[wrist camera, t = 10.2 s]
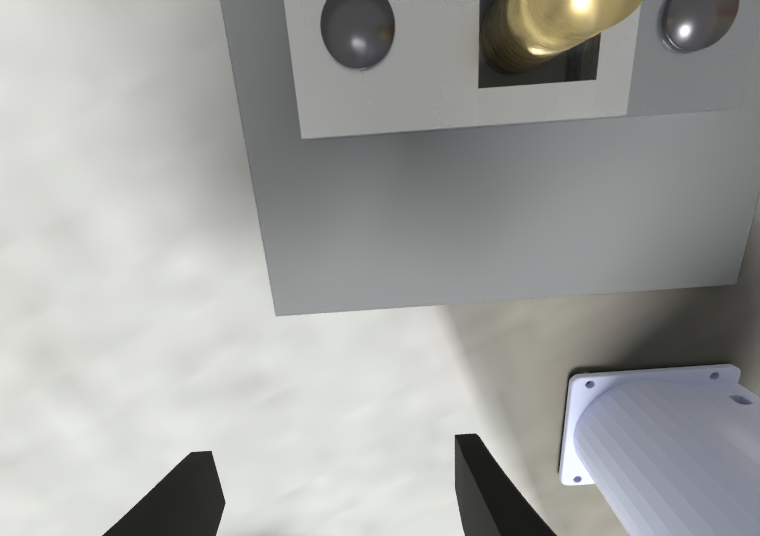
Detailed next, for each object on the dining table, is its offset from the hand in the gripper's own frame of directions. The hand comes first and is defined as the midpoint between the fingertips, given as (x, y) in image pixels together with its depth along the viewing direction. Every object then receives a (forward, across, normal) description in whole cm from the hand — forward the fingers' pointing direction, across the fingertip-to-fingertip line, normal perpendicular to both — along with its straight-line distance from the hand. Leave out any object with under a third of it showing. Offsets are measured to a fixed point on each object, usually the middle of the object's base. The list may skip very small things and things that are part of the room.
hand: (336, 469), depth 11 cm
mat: (+9, -8, -10) cm, 16 cm away
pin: (+9, -8, -13) cm, 18 cm away
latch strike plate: (+9, -8, -13) cm, 18 cm away
